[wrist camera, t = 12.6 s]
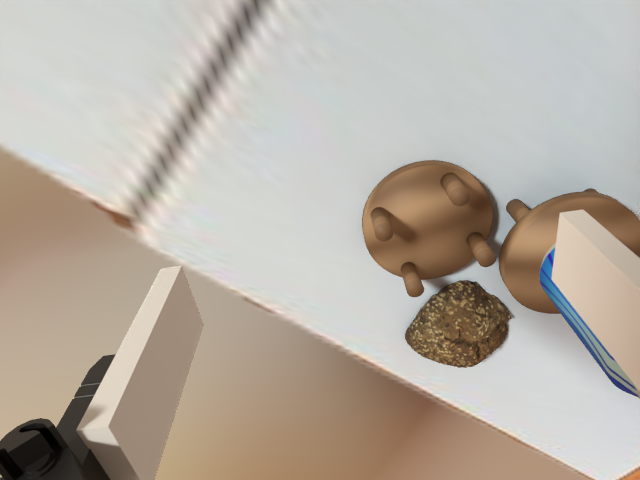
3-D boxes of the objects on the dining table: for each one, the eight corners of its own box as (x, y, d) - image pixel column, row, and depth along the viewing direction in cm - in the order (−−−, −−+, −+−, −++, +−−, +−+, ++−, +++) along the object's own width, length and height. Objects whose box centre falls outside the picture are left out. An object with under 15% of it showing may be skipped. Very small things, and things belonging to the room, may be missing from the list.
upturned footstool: (340, 197, 49) (343, 223, 44) (461, 136, 46) (480, 156, 41) (392, 287, 56) (401, 319, 50) (503, 240, 52) (524, 268, 47)
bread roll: (391, 332, 60) (397, 360, 55) (454, 267, 55) (466, 292, 50) (462, 370, 63) (473, 399, 59) (528, 313, 58) (545, 339, 54)
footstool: (487, 186, 49) (508, 210, 44) (621, 166, 48) (658, 189, 43) (484, 289, 56) (501, 321, 51) (600, 274, 55) (630, 304, 50)
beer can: (629, 224, 45) (771, 334, 31) (603, 292, 49) (717, 417, 35) (544, 225, 44) (649, 337, 31) (525, 293, 49) (610, 419, 35)
